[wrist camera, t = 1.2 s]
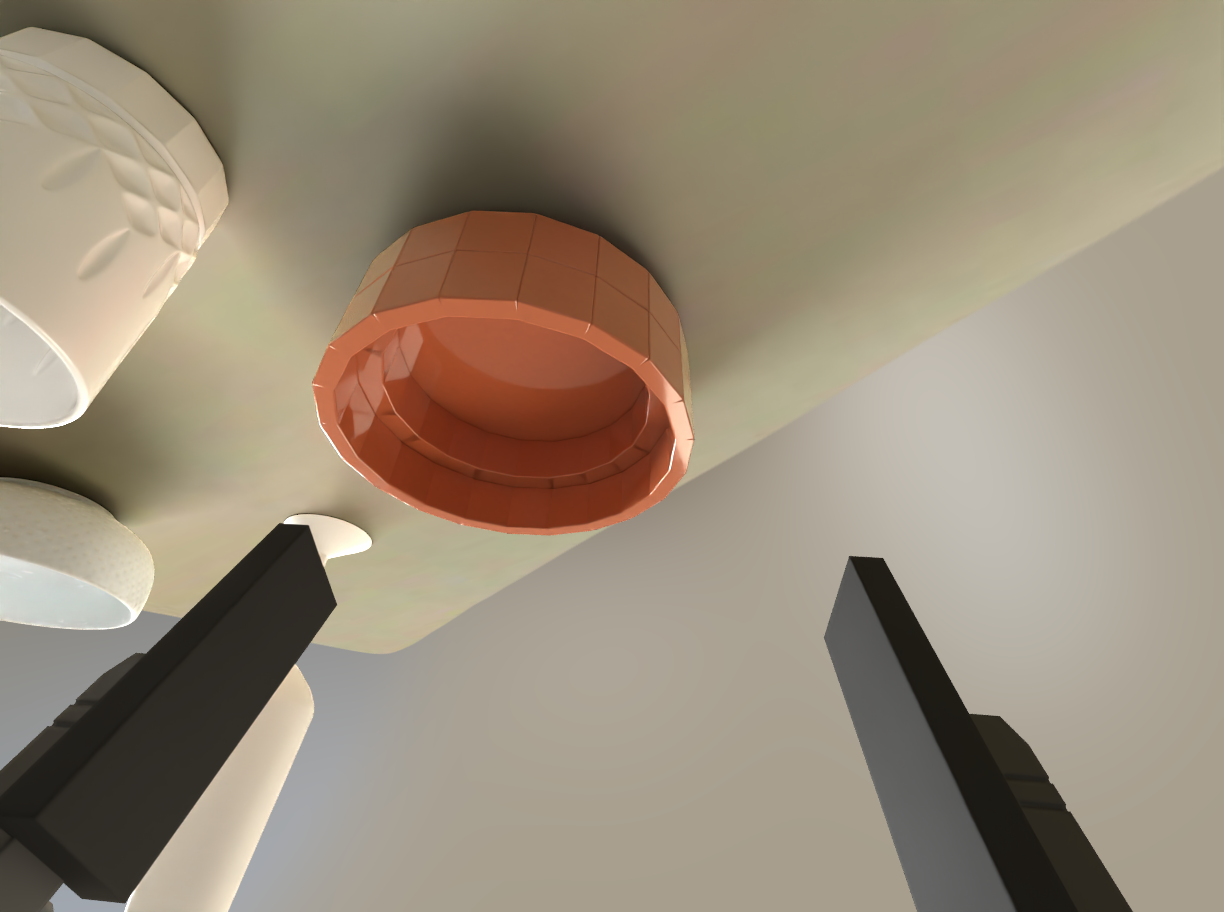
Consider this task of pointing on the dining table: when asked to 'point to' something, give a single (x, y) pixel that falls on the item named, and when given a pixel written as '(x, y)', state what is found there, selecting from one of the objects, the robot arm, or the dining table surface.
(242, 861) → the champagne flute
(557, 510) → the terracotta bowl
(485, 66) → the dining table surface
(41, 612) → the cereal bowl
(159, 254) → the white cup
